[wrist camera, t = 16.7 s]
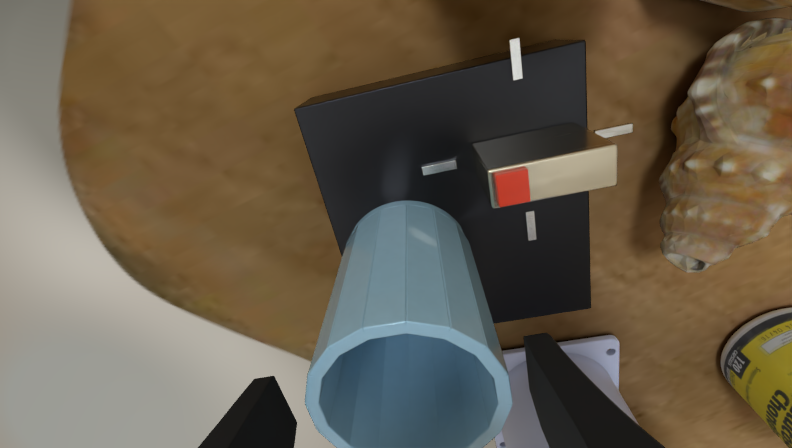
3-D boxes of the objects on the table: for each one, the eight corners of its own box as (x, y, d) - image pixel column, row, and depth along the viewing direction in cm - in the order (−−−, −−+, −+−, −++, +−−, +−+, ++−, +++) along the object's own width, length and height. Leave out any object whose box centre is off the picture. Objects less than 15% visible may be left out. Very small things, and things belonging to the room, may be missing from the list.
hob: (598, 269, 21) (627, 305, 19) (374, 307, 23) (369, 345, 20) (596, 13, 16) (636, 9, 13) (306, 84, 18) (287, 93, 15)
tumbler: (477, 296, 19) (521, 457, 12) (363, 315, 19) (338, 479, 12) (459, 188, 17) (499, 306, 9) (331, 213, 17) (276, 342, 10)
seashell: (736, 172, 22) (783, 327, 16) (605, 110, 22) (602, 241, 16) (967, 10, 15) (1218, 180, 9) (771, -82, 15) (883, 21, 9)
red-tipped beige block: (574, 121, 15) (622, 145, 12) (575, 156, 16) (622, 188, 12) (471, 143, 16) (488, 172, 12) (475, 176, 16) (494, 212, 13)
